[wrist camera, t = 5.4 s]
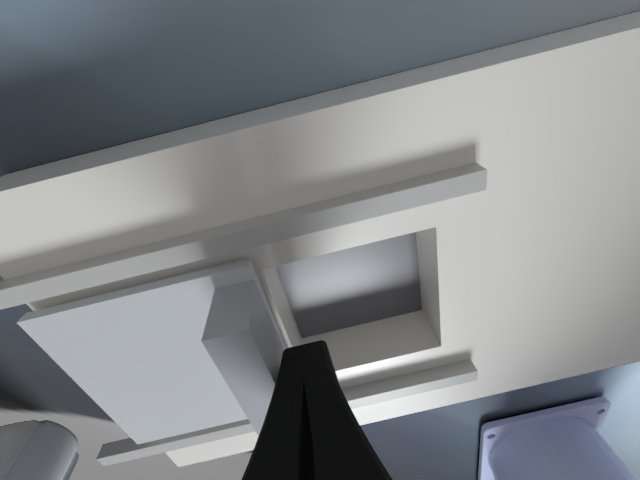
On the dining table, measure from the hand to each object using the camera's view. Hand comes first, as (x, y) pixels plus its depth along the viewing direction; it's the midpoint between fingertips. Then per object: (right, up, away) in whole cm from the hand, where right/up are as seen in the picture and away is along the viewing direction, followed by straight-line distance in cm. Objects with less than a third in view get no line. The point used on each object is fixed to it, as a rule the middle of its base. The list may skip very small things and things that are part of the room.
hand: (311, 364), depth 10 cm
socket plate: (+1, +3, +4) cm, 5 cm away
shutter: (-4, 0, +1) cm, 5 cm away
